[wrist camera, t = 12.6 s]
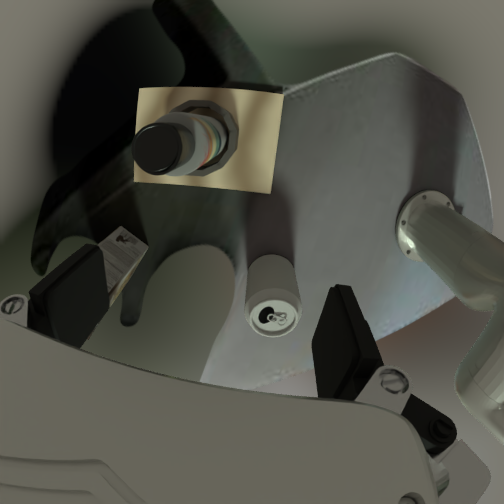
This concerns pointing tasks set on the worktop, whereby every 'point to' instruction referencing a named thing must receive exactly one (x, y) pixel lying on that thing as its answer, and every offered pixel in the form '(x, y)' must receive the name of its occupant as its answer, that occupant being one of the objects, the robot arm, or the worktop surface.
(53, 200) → the worktop surface
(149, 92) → the bottle holder
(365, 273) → the worktop surface
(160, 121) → the lotion bottle
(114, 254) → the coffee box
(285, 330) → the can
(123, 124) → the worktop surface
